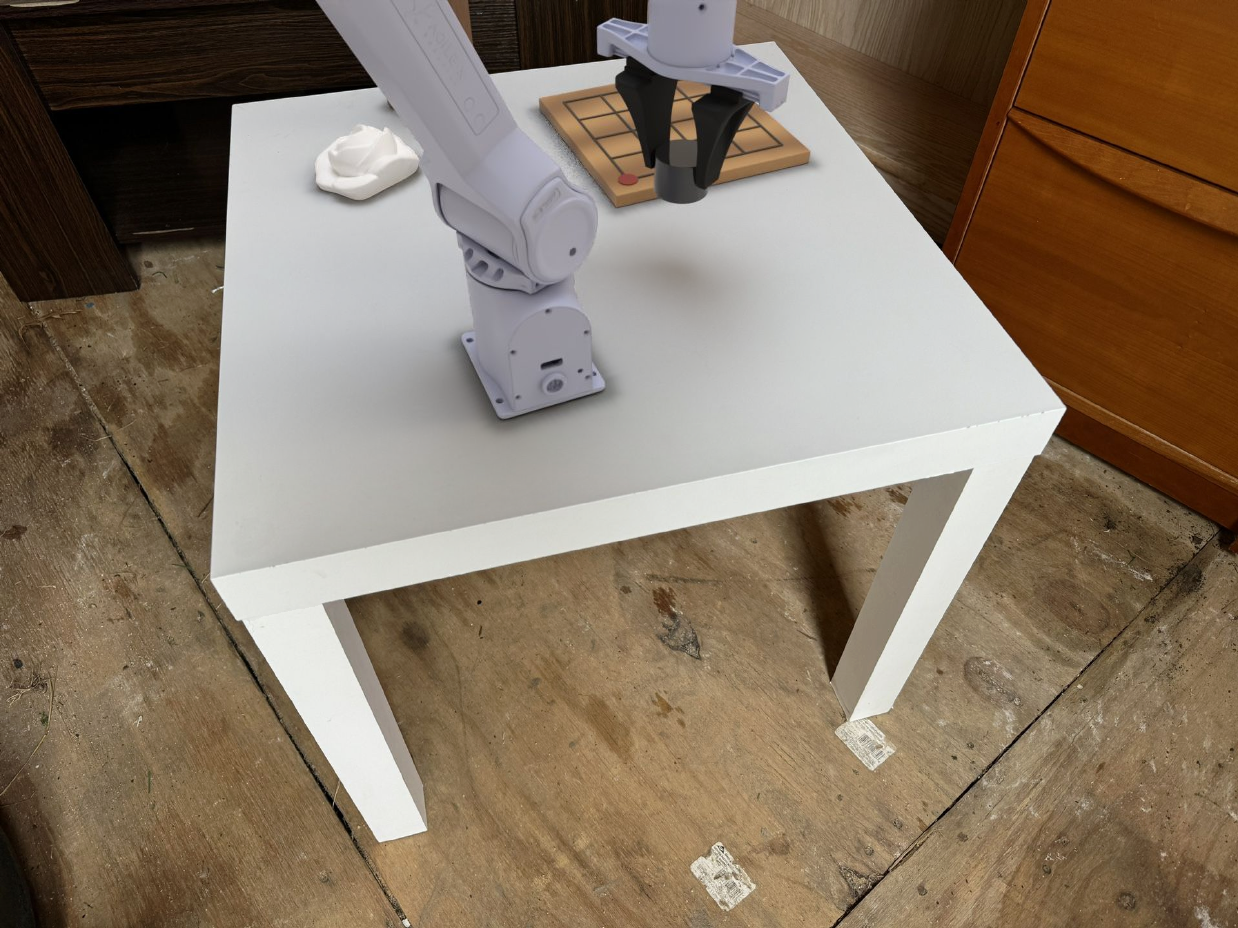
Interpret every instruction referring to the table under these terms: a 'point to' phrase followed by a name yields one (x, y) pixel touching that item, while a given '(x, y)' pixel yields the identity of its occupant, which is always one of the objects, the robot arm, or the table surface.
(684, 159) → the dark grey cylinder puck
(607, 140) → the board
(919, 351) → the table surface
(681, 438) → the table surface
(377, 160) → the rose
